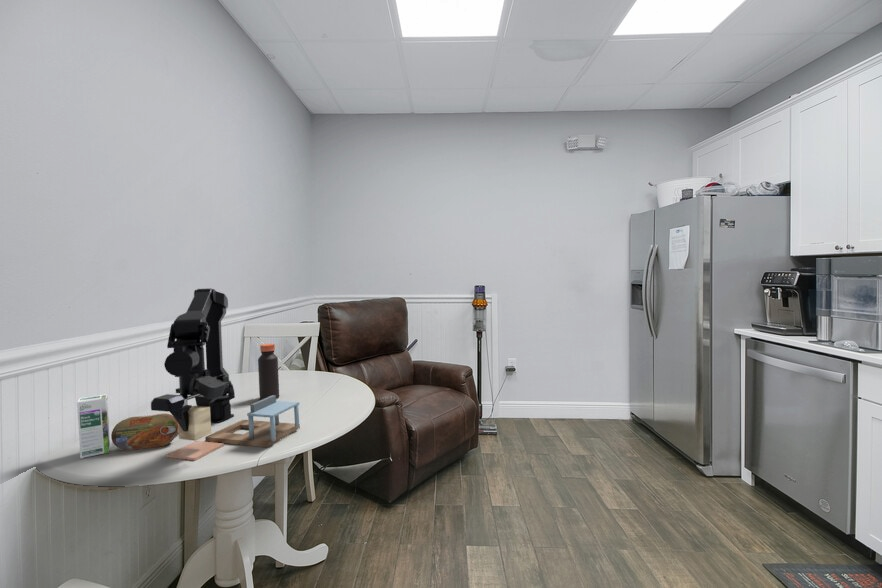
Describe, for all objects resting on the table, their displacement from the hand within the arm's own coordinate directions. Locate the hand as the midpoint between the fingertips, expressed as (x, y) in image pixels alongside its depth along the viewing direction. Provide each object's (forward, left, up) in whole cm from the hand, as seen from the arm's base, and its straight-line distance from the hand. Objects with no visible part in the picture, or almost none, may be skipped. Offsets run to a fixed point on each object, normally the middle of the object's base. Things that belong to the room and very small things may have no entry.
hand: (194, 427), depth 105 cm
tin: (-16, 0, -6) cm, 17 cm away
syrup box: (-26, -6, -6) cm, 27 cm away
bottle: (-13, +45, -6) cm, 47 cm away
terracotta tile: (0, 0, -6) cm, 6 cm away
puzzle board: (+7, +13, -6) cm, 16 cm away
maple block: (0, 0, -2) cm, 2 cm away
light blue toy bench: (+14, +13, -5) cm, 20 cm away
